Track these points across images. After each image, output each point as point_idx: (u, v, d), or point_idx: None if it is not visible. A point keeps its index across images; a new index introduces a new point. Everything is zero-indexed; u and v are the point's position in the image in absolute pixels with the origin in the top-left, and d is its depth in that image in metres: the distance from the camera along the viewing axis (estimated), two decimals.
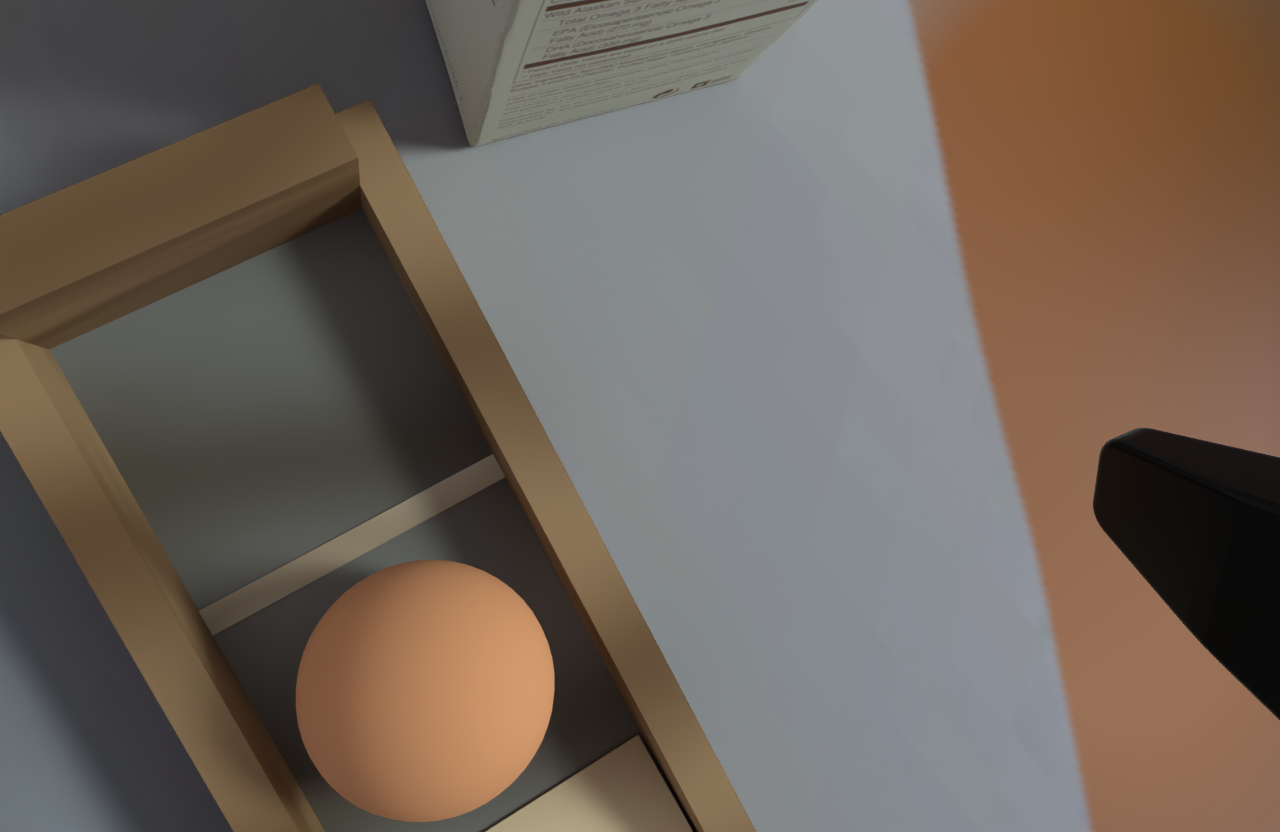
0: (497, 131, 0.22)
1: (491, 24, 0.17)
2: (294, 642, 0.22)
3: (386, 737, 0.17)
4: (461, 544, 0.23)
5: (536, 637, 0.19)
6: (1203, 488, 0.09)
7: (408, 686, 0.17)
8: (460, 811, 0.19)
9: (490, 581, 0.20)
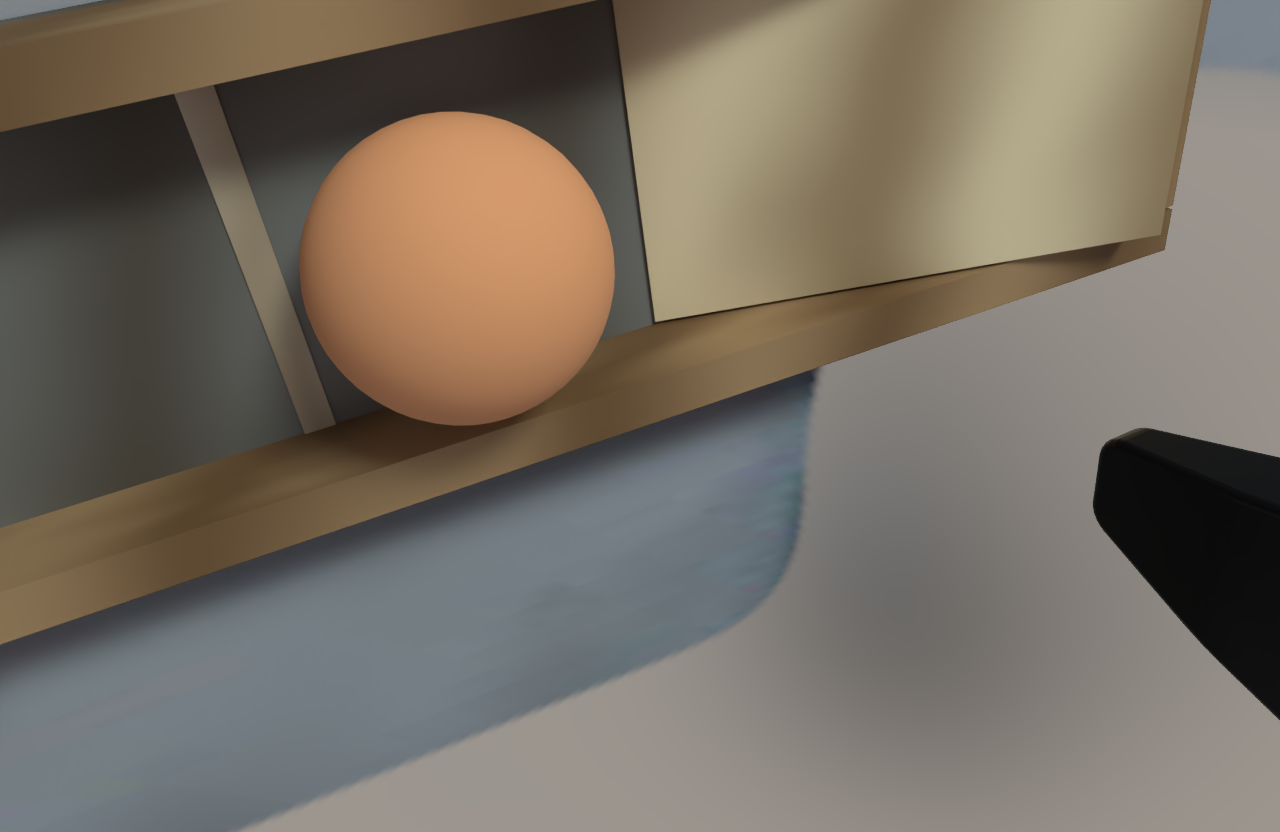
0: None
1: None
2: None
3: (503, 385, 0.15)
4: (292, 141, 0.17)
5: (443, 155, 0.14)
6: (1203, 488, 0.09)
7: (454, 356, 0.14)
8: (610, 295, 0.16)
9: (350, 187, 0.14)
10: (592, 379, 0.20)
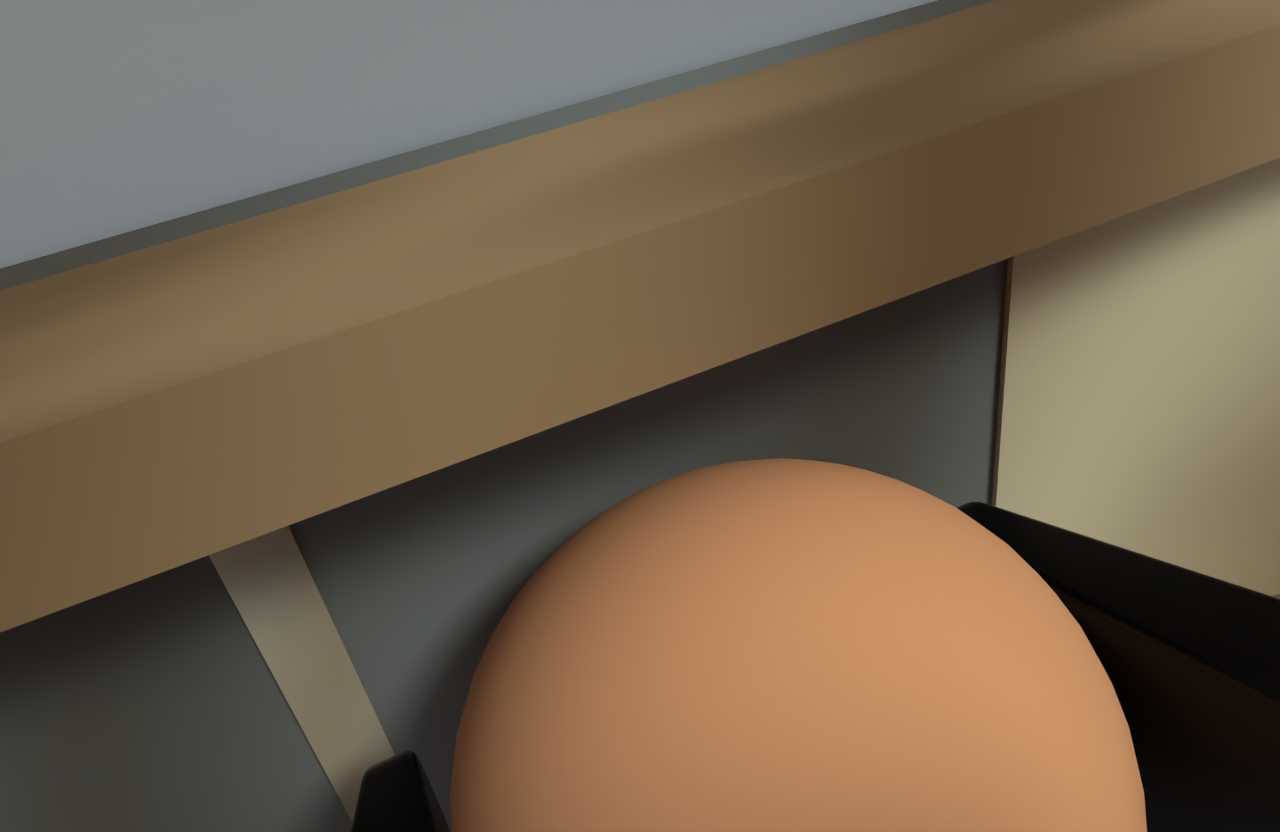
0: None
1: None
2: None
3: None
4: (404, 501, 0.08)
5: (850, 685, 0.06)
6: None
7: None
8: None
9: (611, 759, 0.06)
10: None
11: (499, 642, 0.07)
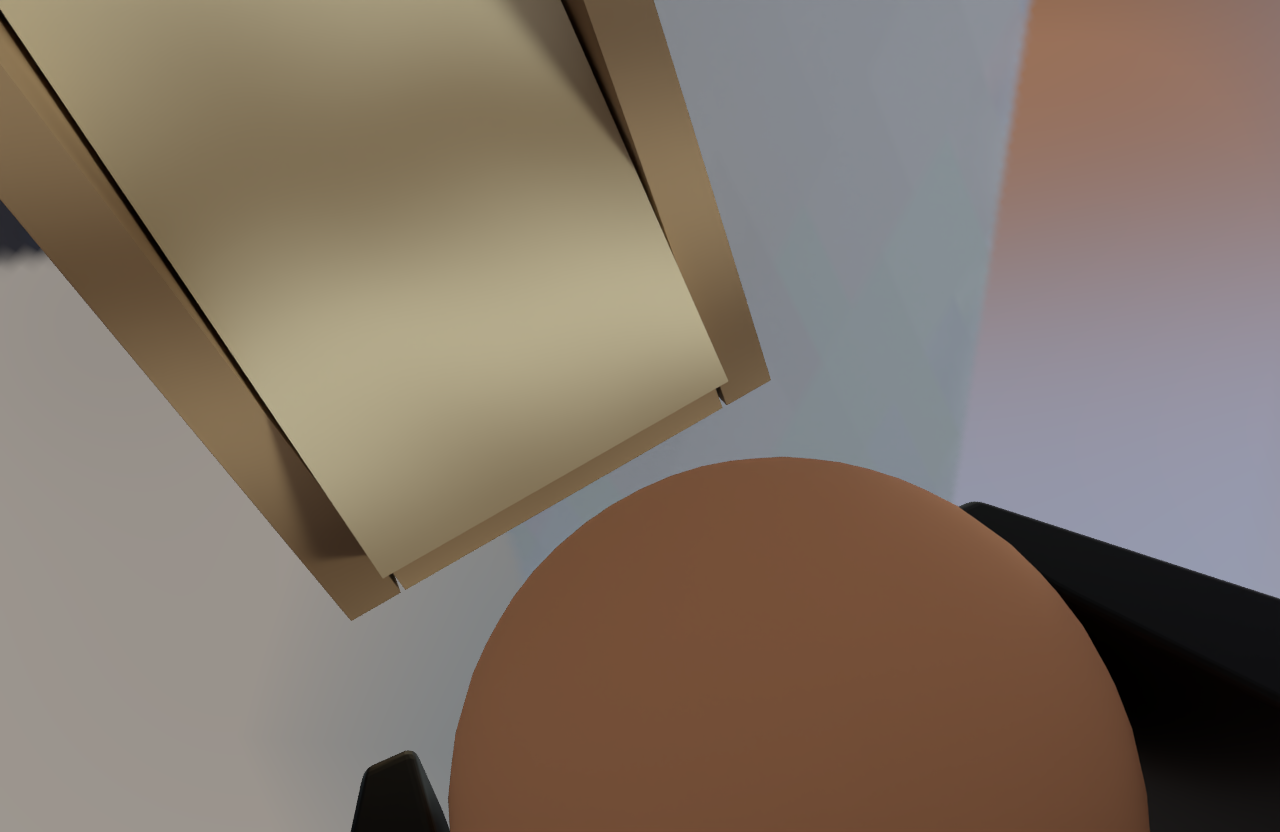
0: None
1: None
2: None
3: None
4: None
5: (853, 684, 0.06)
6: None
7: None
8: None
9: (611, 759, 0.06)
10: None
11: (499, 641, 0.07)
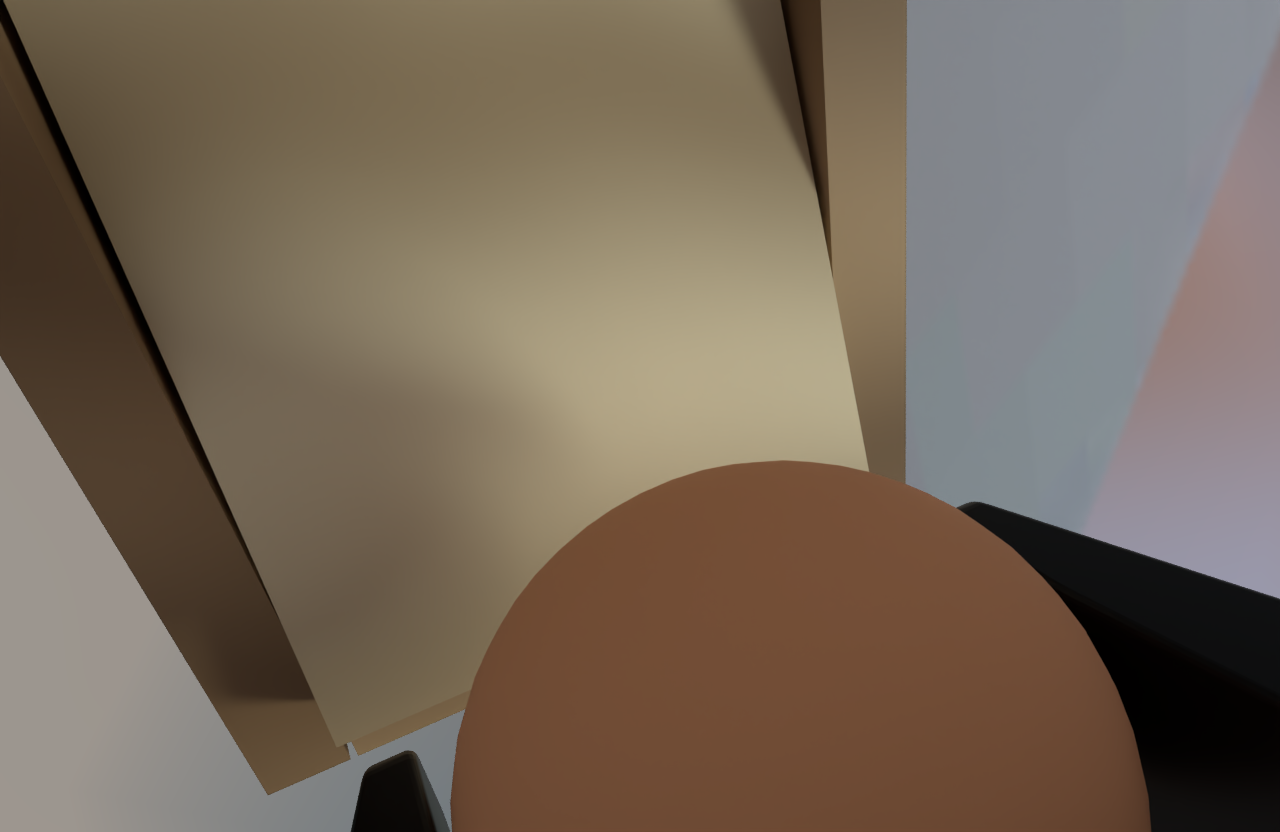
0: None
1: None
2: None
3: None
4: None
5: (854, 688, 0.06)
6: None
7: None
8: None
9: (613, 764, 0.06)
10: None
11: (500, 645, 0.07)
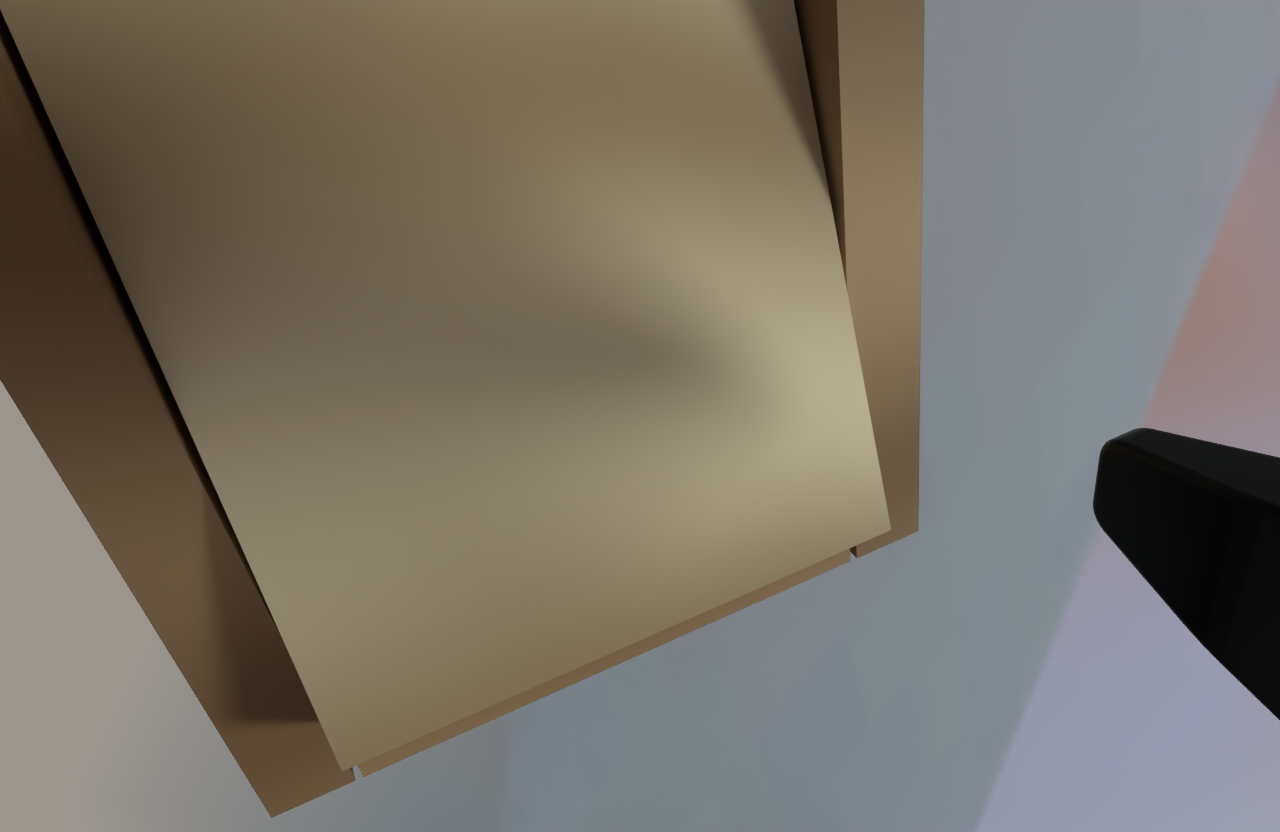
0: None
1: None
2: None
3: None
4: None
5: None
6: (1203, 488, 0.09)
7: None
8: None
9: None
10: None
11: None
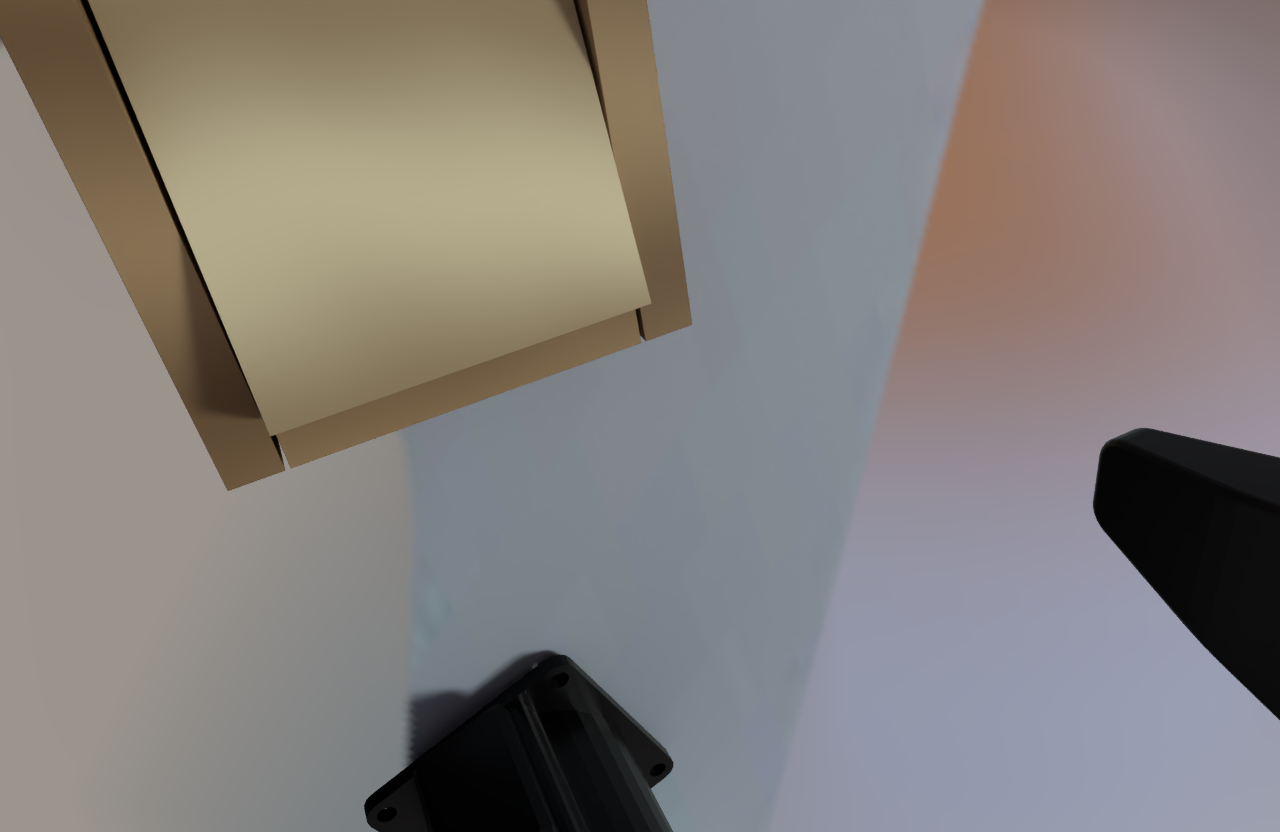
0: None
1: None
2: None
3: None
4: None
5: None
6: (1203, 488, 0.09)
7: None
8: None
9: None
10: None
11: None
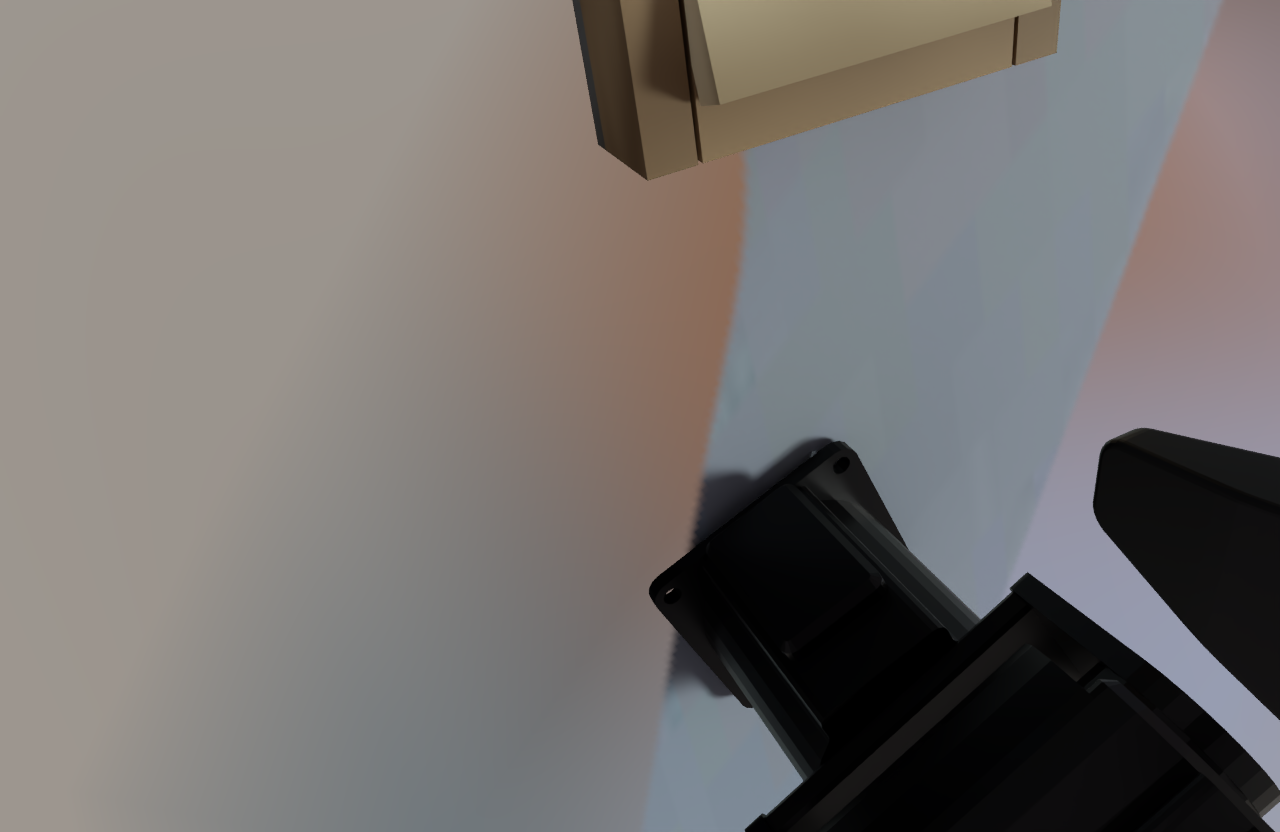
0: None
1: None
2: None
3: None
4: None
5: None
6: (1203, 488, 0.09)
7: None
8: None
9: None
10: None
11: None
